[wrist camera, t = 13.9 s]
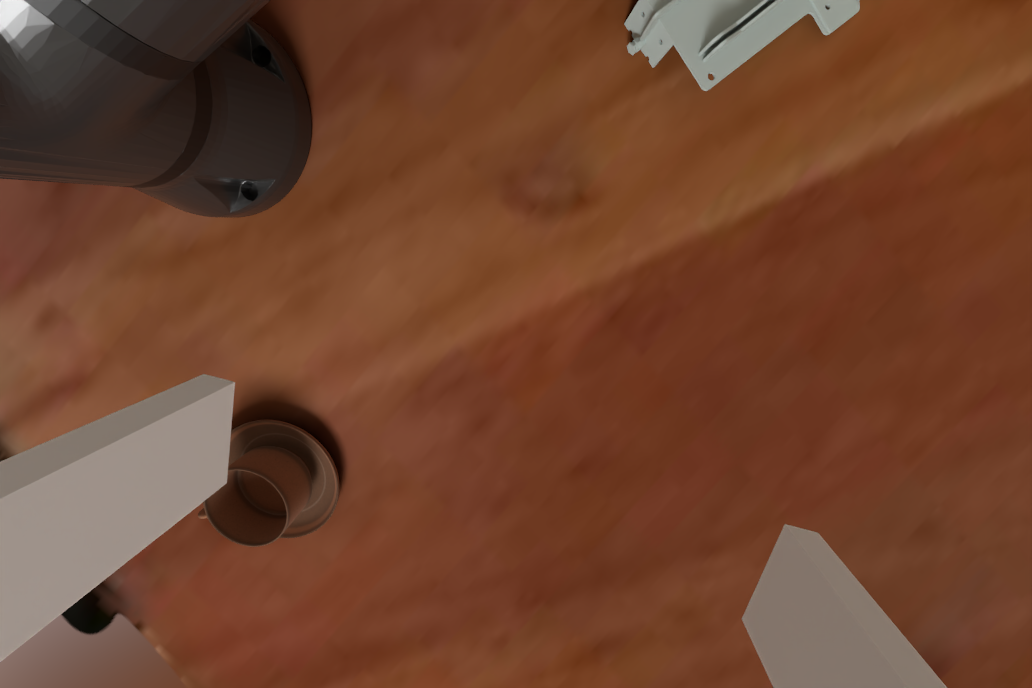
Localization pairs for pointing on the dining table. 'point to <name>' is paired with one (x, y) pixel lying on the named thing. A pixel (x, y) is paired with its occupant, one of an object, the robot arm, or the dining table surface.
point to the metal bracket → (723, 29)
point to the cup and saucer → (273, 485)
